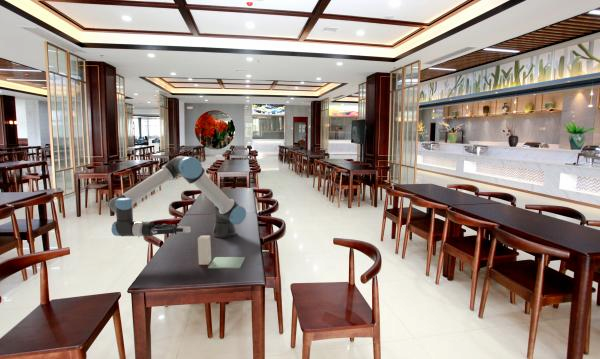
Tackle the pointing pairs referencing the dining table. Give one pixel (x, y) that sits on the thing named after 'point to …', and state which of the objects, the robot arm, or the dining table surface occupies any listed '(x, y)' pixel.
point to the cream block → (204, 250)
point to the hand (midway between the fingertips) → (190, 229)
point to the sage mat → (226, 262)
